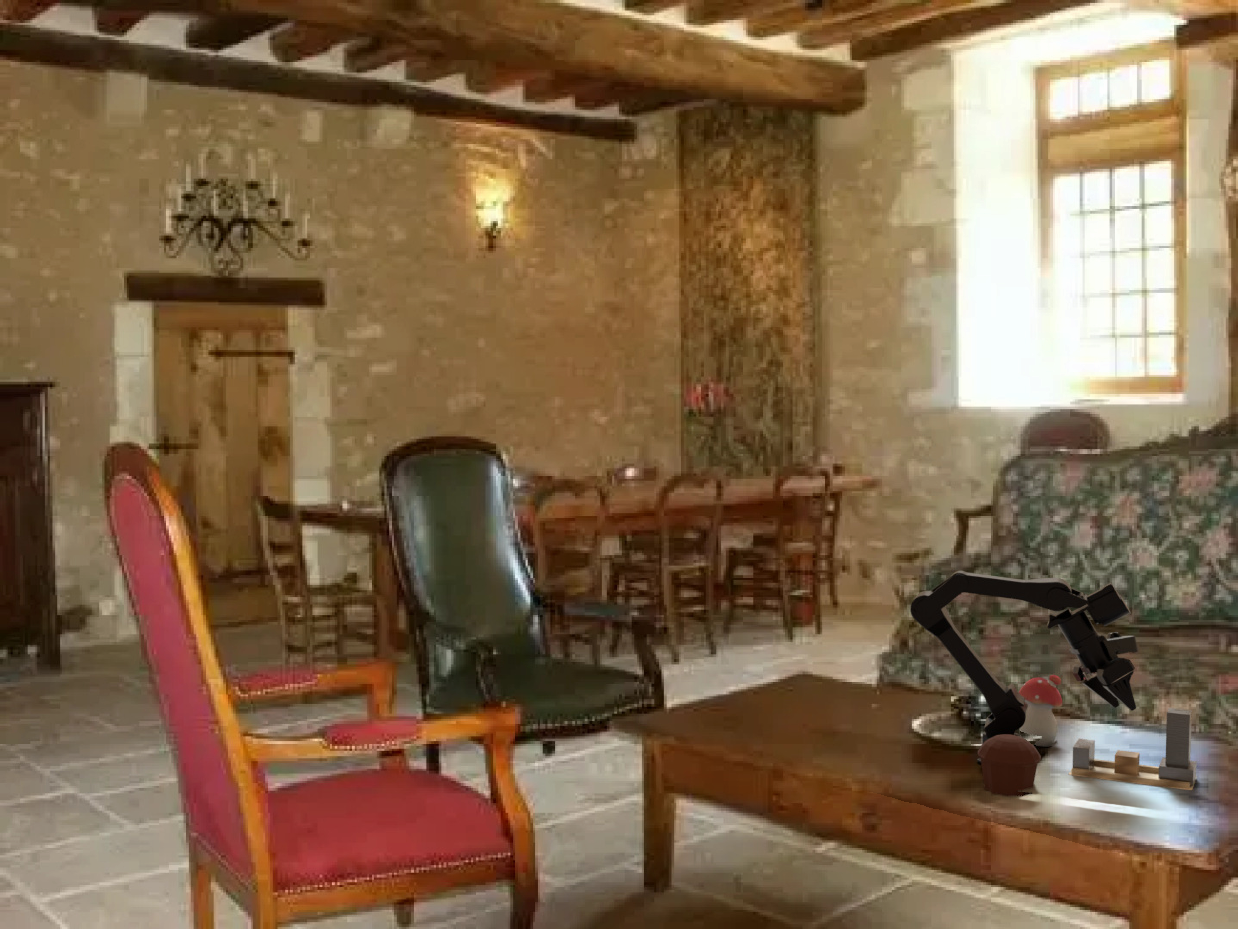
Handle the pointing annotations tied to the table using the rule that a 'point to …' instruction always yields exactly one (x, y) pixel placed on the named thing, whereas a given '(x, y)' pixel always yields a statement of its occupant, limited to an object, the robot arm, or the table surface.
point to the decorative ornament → (1041, 708)
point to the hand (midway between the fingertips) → (1125, 708)
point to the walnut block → (1127, 762)
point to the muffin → (1008, 764)
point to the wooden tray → (1145, 776)
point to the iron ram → (1178, 748)
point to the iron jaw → (1084, 754)
